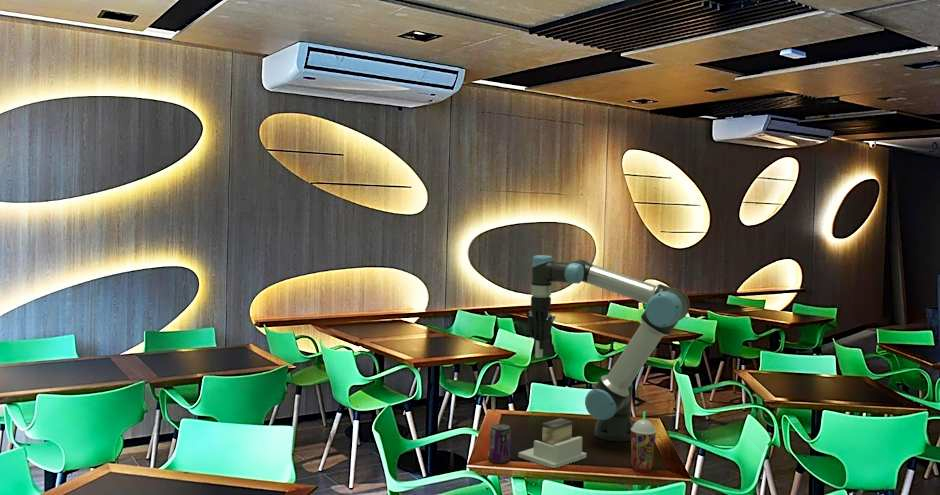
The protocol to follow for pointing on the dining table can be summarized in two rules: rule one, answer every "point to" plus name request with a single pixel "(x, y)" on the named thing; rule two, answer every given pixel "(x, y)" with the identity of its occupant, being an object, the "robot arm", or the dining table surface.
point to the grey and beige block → (556, 431)
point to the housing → (555, 453)
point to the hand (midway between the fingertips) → (538, 357)
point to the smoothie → (642, 444)
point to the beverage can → (500, 443)
